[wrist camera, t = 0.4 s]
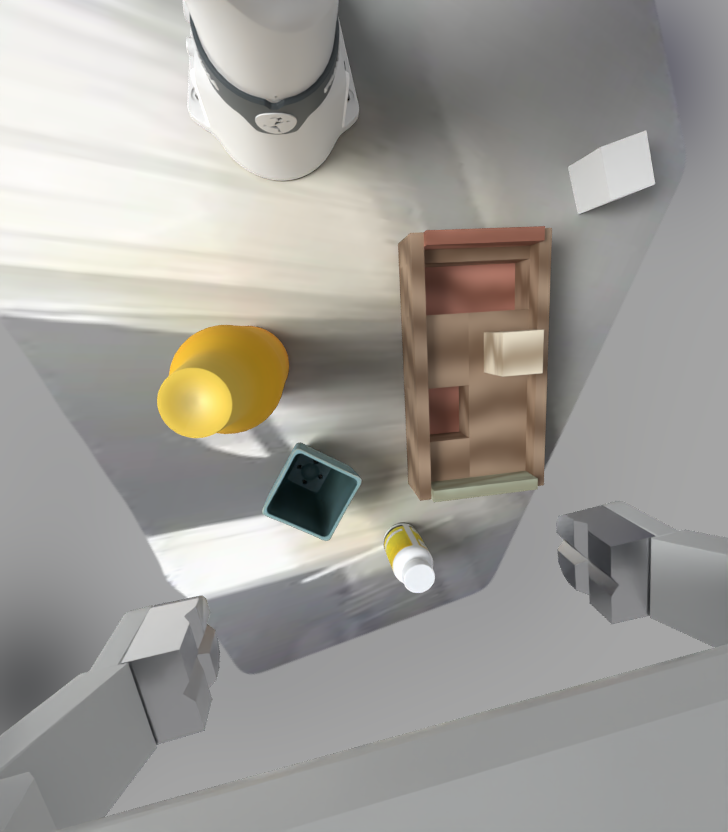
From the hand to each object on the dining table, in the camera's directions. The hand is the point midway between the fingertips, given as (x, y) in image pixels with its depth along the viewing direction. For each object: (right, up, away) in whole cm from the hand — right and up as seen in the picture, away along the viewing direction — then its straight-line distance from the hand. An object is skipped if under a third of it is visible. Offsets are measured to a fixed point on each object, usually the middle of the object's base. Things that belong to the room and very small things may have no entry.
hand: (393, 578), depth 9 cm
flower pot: (-8, -4, +47) cm, 48 cm away
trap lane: (+13, +11, +47) cm, 50 cm away
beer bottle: (-15, +10, +43) cm, 46 cm away
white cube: (+29, +34, +45) cm, 63 cm away
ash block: (+17, +12, +43) cm, 48 cm away
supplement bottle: (+5, -14, +51) cm, 53 cm away
